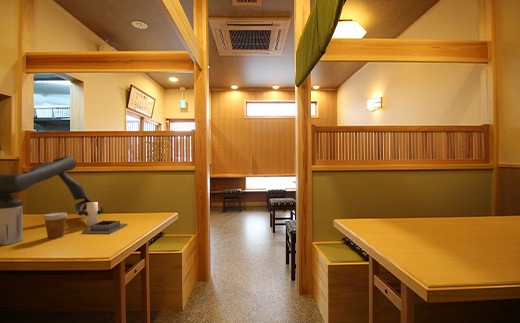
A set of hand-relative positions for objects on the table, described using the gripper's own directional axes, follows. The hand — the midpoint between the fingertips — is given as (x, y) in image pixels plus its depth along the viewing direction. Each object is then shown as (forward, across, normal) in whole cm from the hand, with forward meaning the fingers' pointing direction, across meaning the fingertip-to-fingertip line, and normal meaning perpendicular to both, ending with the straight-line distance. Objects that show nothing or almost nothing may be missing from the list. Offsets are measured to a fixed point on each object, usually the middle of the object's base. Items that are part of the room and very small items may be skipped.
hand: (93, 213), depth 143 cm
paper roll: (-3, 0, +8) cm, 8 cm away
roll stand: (+12, +4, +8) cm, 15 cm away
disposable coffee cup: (+9, -18, +8) cm, 22 cm away
